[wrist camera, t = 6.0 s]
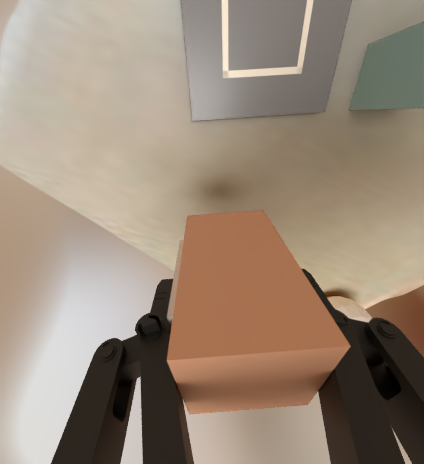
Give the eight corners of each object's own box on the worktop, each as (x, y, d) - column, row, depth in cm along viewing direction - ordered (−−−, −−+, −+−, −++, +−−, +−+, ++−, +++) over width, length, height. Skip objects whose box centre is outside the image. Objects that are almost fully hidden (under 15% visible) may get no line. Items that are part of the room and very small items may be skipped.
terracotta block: (263, 210, 14) (350, 346, 6) (257, 266, 18) (307, 404, 9) (187, 215, 14) (166, 360, 6) (195, 270, 17) (189, 414, 9)
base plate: (371, -130, 14) (388, -154, 13) (318, 112, 23) (325, 112, 22) (169, -122, 14) (166, -145, 13) (192, 120, 23) (192, 120, 21)
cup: (321, 322, 50) (345, 361, 42) (291, 309, 46) (310, 350, 38) (361, 296, 45) (396, 336, 37) (331, 280, 41) (363, 320, 33)
